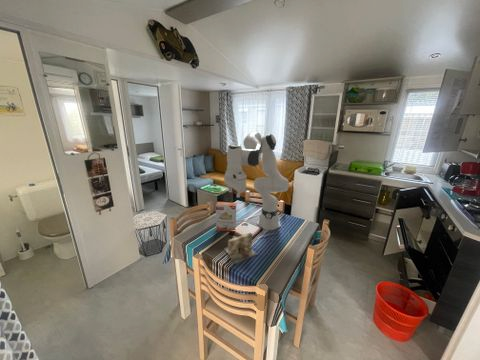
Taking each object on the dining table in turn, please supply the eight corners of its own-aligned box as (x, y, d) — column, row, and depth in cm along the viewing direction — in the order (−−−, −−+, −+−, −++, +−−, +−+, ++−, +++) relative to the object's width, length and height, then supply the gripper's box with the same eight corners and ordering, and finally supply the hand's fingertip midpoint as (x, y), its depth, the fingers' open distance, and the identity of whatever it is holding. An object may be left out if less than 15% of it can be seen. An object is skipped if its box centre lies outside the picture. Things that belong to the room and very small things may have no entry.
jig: (223, 248, 127) (223, 239, 125) (243, 241, 134) (243, 233, 132) (236, 264, 114) (236, 254, 112) (257, 255, 122) (257, 245, 119)
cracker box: (216, 230, 147) (215, 204, 140) (217, 226, 152) (217, 201, 146) (235, 232, 146) (235, 205, 139) (236, 227, 151) (236, 202, 145)
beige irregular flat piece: (229, 256, 119) (229, 241, 116) (228, 254, 121) (228, 240, 118) (251, 247, 127) (252, 234, 124) (249, 246, 129) (250, 232, 126)
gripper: (221, 169, 124) (221, 190, 128) (238, 177, 107) (238, 201, 112) (230, 168, 127) (230, 188, 131) (248, 176, 111) (247, 199, 115)
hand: (234, 194), depth 121 cm, fingers open, 8 cm apart
